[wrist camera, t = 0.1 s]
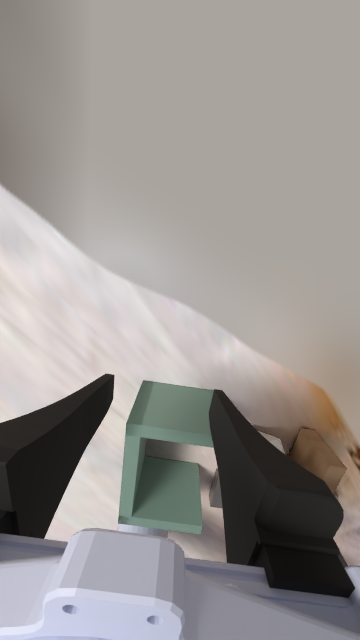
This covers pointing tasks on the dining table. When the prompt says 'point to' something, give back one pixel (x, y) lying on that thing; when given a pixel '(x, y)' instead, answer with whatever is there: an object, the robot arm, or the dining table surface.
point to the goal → (162, 474)
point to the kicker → (318, 461)
